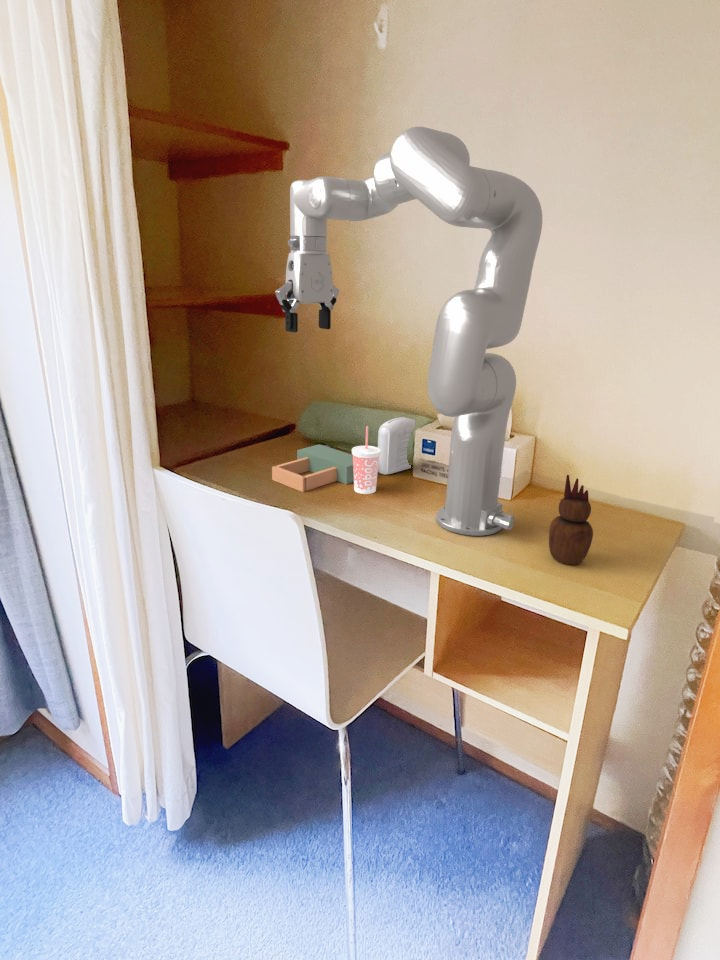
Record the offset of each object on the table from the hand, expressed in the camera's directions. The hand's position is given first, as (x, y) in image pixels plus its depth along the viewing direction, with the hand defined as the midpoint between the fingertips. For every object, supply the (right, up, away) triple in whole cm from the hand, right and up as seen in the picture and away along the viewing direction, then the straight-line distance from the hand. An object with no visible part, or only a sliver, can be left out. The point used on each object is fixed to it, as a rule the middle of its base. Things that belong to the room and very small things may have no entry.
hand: (308, 330), depth 135 cm
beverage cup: (+12, -35, -3) cm, 37 cm away
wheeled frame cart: (+2, -32, +4) cm, 32 cm away
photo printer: (+20, -30, +10) cm, 38 cm away
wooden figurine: (+46, -46, -31) cm, 72 cm away
